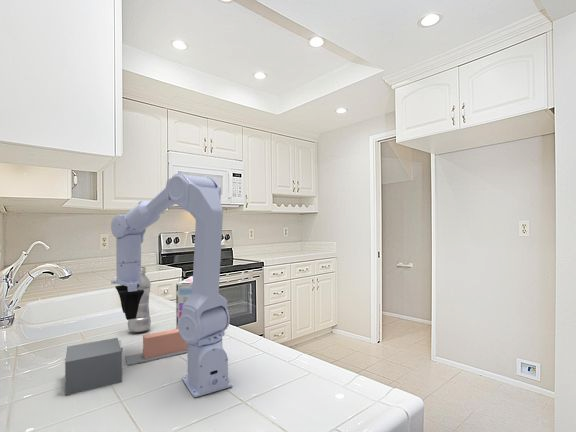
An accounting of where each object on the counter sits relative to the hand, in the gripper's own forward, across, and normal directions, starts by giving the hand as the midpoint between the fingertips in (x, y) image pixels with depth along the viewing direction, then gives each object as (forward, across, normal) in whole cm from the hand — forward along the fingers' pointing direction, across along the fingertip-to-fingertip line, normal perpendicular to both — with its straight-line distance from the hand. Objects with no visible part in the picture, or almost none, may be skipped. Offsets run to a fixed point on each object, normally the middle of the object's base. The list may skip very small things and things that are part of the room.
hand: (129, 315), depth 84 cm
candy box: (+11, -10, +19) cm, 24 cm away
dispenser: (+10, +9, -8) cm, 16 cm away
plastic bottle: (+11, -20, +5) cm, 23 cm away
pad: (+10, +3, +6) cm, 12 cm away
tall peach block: (+10, +3, +8) cm, 14 cm away
